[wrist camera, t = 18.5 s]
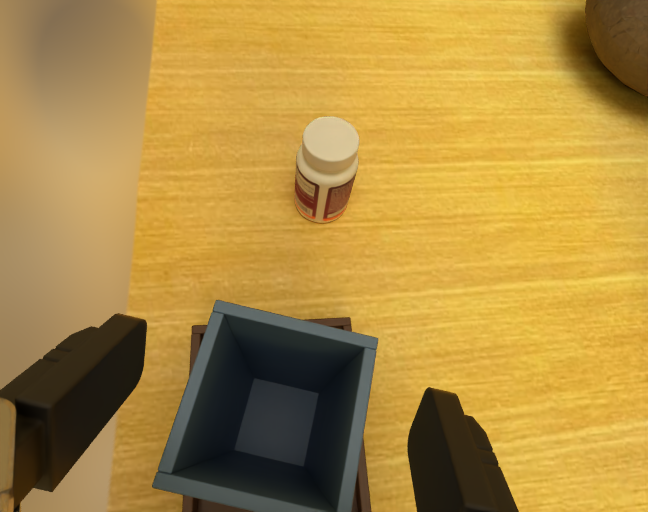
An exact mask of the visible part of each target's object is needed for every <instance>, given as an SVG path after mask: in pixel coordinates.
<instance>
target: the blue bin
mask: <svg viewBox="0 0 648 512" xmlns="http://www.w3.org/2000/svg"><path fill="white" fill-rule="evenodd" d="M377 344H378V338H376V337H372V336H367V335H363V334H359V333H355V332H351V331H346V330H342V329H338V328H334V327H330V326H325V325H321V324H317V323H313V322H308V321H304V320H300V319H296V318H292V317H287V316H283V315H279V314H275V313H271V312H266V311H262V310H258V309H254V308H250V307H245V306H241V305H237V304H233V303H228V302H224V301H220V300H216V302H215V304H214V307H213V312H212V313H211V316H210V319H209V322H208V325H207V328H206V331H205V333H204V336H203V339H202V342H201V345H200V348H199V351H198V354H197V357H196V360H195V363H194V365H193V368H192V371H191V374H190V377H189V380H188V383H187V386H186V389H185V392H184V394H183V397H182V400H181V403H180V406H179V409H178V412H177V415H176V418H175V421H174V423H173V426H172V429H171V432H170V435H169V438H168V441H167V444H166V447H165V450H164V453H163V455H162V458H161V461H160V464H159V467H158V472H157V473H156V476H155V479H154V482H153V484H152V487H153V488H156V489H160V490H164V491H168V492H173V493H177V494H181V495H185V496H190V497H194V498H198V499H202V500H207V501H211V502H215V503H220V504H224V505H228V506H232V507H237V508H241V509H245V510H249V511H254V512H351V510H352V503H353V497H354V491H355V484H356V478H357V472H358V465H359V459H360V452H361V446H362V440H363V433H364V427H365V421H366V414H367V408H368V401H369V395H370V389H371V382H372V376H373V370H374V363H375V357H376V349H377Z"/></svg>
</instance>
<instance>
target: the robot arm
mask: <svg viewBox="0 0 648 512" xmlns="http://www.w3.org/2000/svg"><path fill="white" fill-rule="evenodd" d="M146 332H147V323H146V320H144V319H140V318H136V317H131V316H127V315H123V314H119V313H118V314H115V315H114V316H112V317H111V318H110V319H109V320H107V321H106V322H105V323H104V324H103V325H101V326H100V327H99V328H96V327H89V328H86V329H84V330H81V331H79V332H76V333H74V334H72V335H70V336H69V337H68V338H66V339H65V340H64V341H62V342H61V343H60V344H59V345H57V346H56V348H55V349H52V350H51V351H50V352H48V353H47V354H46V355H44V357H43V359H39V360H38V361H37V362H36V363H34V364H33V365H32V366H30V367H29V368H28V369H27V370H25V371H24V372H23V373H21V374H20V375H19V376H18V377H16V378H15V379H14V380H13V381H11V382H10V383H9V384H8V385H6V386H5V387H4V388H2V389H1V390H0V512H21V501H22V500H23V499H24V498H25V496H26V495H27V494H28V493H29V492H30V491H31V489H32V488H37V489H41V490H45V491H49V492H53V491H54V489H55V488H56V487H57V485H58V484H59V483H60V482H61V480H62V479H63V478H64V477H65V475H66V474H67V473H68V472H69V470H70V469H71V468H72V466H73V465H74V464H75V463H76V462H77V460H78V459H79V458H80V457H81V455H82V454H83V453H84V452H85V450H86V449H87V448H88V447H89V445H90V444H91V442H93V440H94V439H95V438H96V437H97V435H98V434H99V433H100V431H101V430H102V429H103V428H104V426H105V425H106V424H107V423H108V421H109V420H110V419H111V418H112V416H113V415H114V414H115V413H116V411H117V410H118V409H119V408H120V406H121V405H122V404H123V403H124V401H125V400H126V399H127V398H128V396H129V395H130V394H131V392H132V391H133V390H134V389H135V387H136V386H137V384H138V382H139V380H140V377H141V375H142V371H143V367H144V356H145V344H146ZM492 450H493V449H492V446H491V444H490V442H489V439H488V437H487V434H486V432H485V431H484V430H483V429H482V428H481V426H480V425H479V424H478V423H477V422H476V420H475V419H474V418H473V417H472V416H468V415H464V412H463V409H462V407H461V404H460V401H459V399H458V396H457V395H456V394H455V393H451V392H447V391H443V390H439V389H434V388H430V387H429V388H427V389H426V391H425V393H424V395H423V397H422V400H421V403H420V405H419V408H418V410H417V413H416V416H415V418H414V421H413V423H412V426H411V429H410V432H409V437H408V457H409V464H410V470H411V476H412V482H413V488H414V494H415V501H416V507H417V512H519V511H518V509H517V506H516V504H515V502H514V499H513V497H512V494H511V492H510V490H509V487H508V485H507V482H506V480H505V478H504V475H503V473H502V470H501V468H500V467H498V464H499V463H498V461H497V458H496V456H495V454H494V453H493V452H492Z"/></svg>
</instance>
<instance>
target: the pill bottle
mask: <svg viewBox="0 0 648 512" xmlns="http://www.w3.org/2000/svg"><path fill="white" fill-rule="evenodd" d="M358 147H359V136H358V133H357V131H356V129H355V128H354V127H353V126H352V125H351V124H350V123H349V122H347V121H345V120H343V119H341V118H338V117H332V116H326V117H320V118H317V119H315V120H313V121H312V122H310V123H309V124H308V125H307V127H306V128H305V130H304V133H303V140H302V144H301V146H300V148H299V150H298V152H297V156H296V178H295V205H296V207H297V209H298V211H299V212H300V213H301V215H302V216H304V217H305V218H307V219H308V220H311V221H314V222H318V223H327V222H331V221H334V220H336V219H337V218H339V217H340V216H341V215H342V214H343V213H344V211H345V209H346V207H347V203H348V200H349V197H350V193H351V190H352V186H353V182H354V179H355V175H356V172H357V169H358V154H357V152H358Z"/></svg>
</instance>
